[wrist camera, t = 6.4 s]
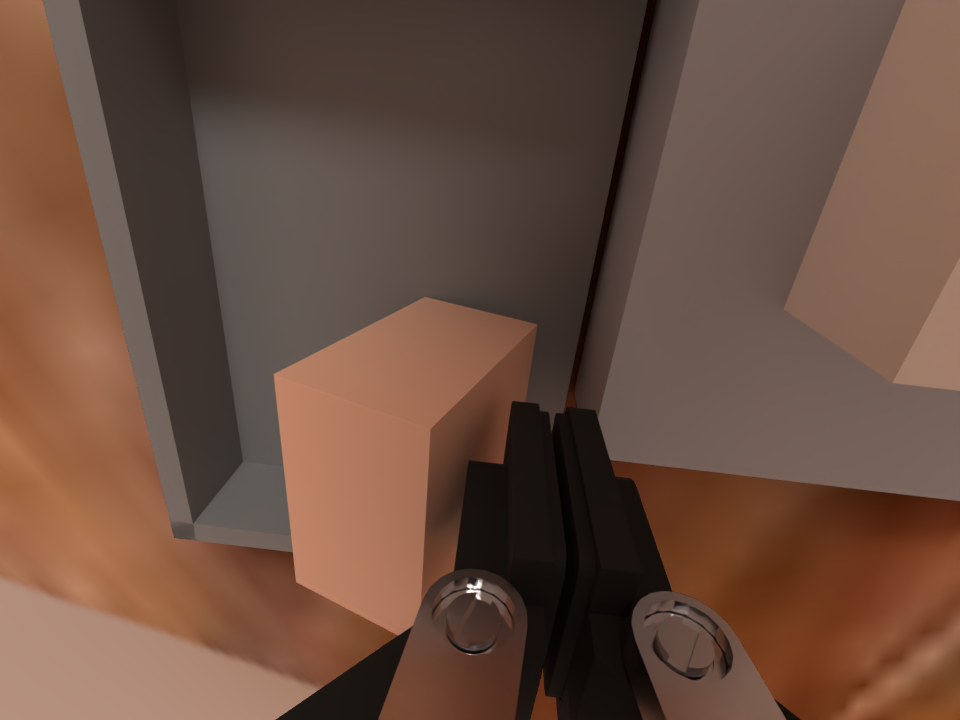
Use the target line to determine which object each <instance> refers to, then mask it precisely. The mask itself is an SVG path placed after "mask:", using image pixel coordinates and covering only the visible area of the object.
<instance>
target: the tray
mask: <svg viewBox="0 0 960 720" xmlns="http://www.w3.org/2000/svg"><path fill="white" fill-rule="evenodd" d="M647 1H648V0H43V4H44V8H45V12H46V16H47V20H48V24H49V28H50V32H51V36H52V40H53V45H54V49H55V53H56V57H57V61H58V65H59V69H60V73H61V77H62V81H63V85H64V89H65V94H66V98H67V102H68V106H69V110H70V114H71V118H72V122H73V126H74V130H75V134H76V138H77V143H78V147H79V151H80V155H81V159H82V163H83V167H84V171H85V175H86V179H87V183H88V188H89V192H90V196H91V200H92V204H93V208H94V212H95V216H96V220H97V224H98V228H99V232H100V237H101V241H102V245H103V249H104V253H105V257H106V261H107V265H108V269H109V273H110V277H111V281H112V286H113V290H114V294H115V298H116V302H117V306H118V310H119V314H120V318H121V322H122V326H123V330H124V335H125V339H126V343H127V347H128V351H129V355H130V359H131V363H132V367H133V371H134V375H135V379H136V384H137V388H138V392H139V396H140V400H141V404H142V408H143V412H144V416H145V420H146V424H147V428H148V433H149V437H150V441H151V445H152V449H153V453H154V457H155V461H156V465H157V469H158V473H159V478H160V482H161V486H162V490H163V494H164V498H165V502H166V506H167V510H168V514H169V518H170V522H171V527H172V531H173V535H174V538H179V539H187V540H195V541H204V542H212V543H220V544H229V545H237V546H245V547H253V548H262V549H270V550H278V551H286V552H293V548H292V538H291V529H290V520H289V511H288V502H287V492H286V483H285V474H284V465H283V456H282V446H281V437H280V428H279V419H278V410H277V401H276V391H275V382H274V374H275V373H277V372H279V371H281V370H283V369H285V368H287V367H289V366H291V365H293V364H295V363H297V362H299V361H301V360H303V359H305V358H306V357H308V356H310V355H312V354H314V353H316V352H318V351H320V350H322V349H324V348H326V347H328V346H330V345H332V344H334V343H336V342H338V341H340V340H342V339H344V338H346V337H348V336H350V335H352V334H354V333H355V332H357V331H359V330H361V329H363V328H365V327H367V326H369V325H371V324H373V323H375V322H377V321H379V320H381V319H383V318H385V317H387V316H389V315H391V314H393V313H395V312H397V311H399V310H401V309H403V308H404V307H406V306H408V305H410V304H412V303H414V302H416V301H418V300H420V299H422V298H424V297H428V298H432V299H436V300H440V301H444V302H448V303H452V304H456V305H460V306H465V307H469V308H473V309H477V310H481V311H485V312H489V313H493V314H497V315H501V316H505V317H510V318H514V319H518V320H522V321H526V322H530V323H534V324H537V331H536V337H535V344H534V350H533V357H532V363H531V370H530V376H529V383H528V389H527V396H526V402H528V403H537V404H539V407H540V411H545V412H549V416H550V424H551V432H552V429H553V423H554V418H555V415H556V413H564V408H565V403H566V398H567V393H568V388H569V383H570V378H571V373H572V369H573V364H574V359H575V354H576V349H577V344H578V339H579V334H580V329H581V324H582V320H583V315H584V310H585V305H586V300H587V295H588V290H589V285H590V280H591V275H592V271H593V266H594V261H595V256H596V251H597V246H598V241H599V236H600V231H601V227H602V222H603V217H604V212H605V207H606V202H607V197H608V192H609V187H610V182H611V178H612V173H613V168H614V163H615V158H616V153H617V148H618V143H619V138H620V133H621V129H622V124H623V119H624V114H625V109H626V104H627V99H628V94H629V89H630V85H631V80H632V75H633V70H634V65H635V60H636V55H637V50H638V45H639V40H640V36H641V31H642V26H643V21H644V16H645V11H646V6H647Z"/></svg>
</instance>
